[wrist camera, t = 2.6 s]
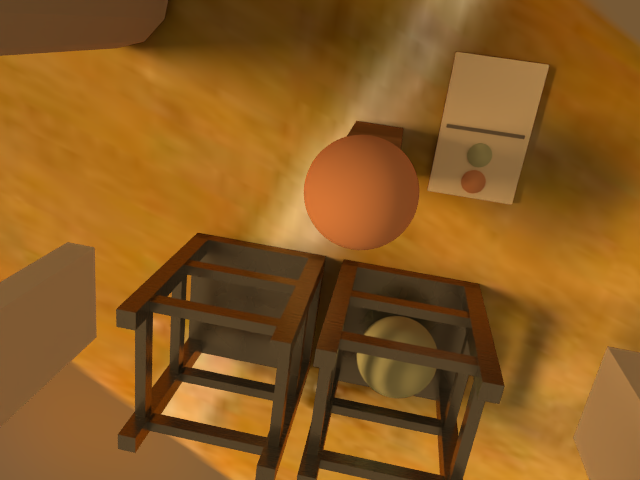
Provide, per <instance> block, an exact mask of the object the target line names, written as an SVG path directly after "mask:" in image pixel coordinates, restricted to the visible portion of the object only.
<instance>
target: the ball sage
mask: <svg viewBox="0 0 640 480" xmlns="http://www.w3.org/2000/svg"><path fill="white" fill-rule="evenodd" d="M363 335H366V336H371V337H376V338H382V339H387V340H392V341H397V342H402V343H407V344H412V345H418V346H423V347H428V348H433V349H437V347H436V344H435V342H434V340H433V338H432V336H431V334H430V333H429V332H428V331H427V329H426V328H425V327H423V326H422V325H421V324H420V323H418V322H417V321H415V320H413V319H410V318H407V317H402V316H390V317H385V318H382V319H380V320H378V321H376V322H374V323H373V324H372V325H371V326H369V327H368V328H367V329H366V331H365V332H364V333H363ZM357 364H358V368H359V371H360V373H361V375H362V377H363V379H364V380H365V382H366V383H367V384H368V385H369V386H370V387H371V388H372V389H373V390H374V391H376V392H378V393H379V394H381V395H384V396H386V397H390V398H406V397H410V396H413V395H415V394H417V393H419V392H421V391H422V390H423V389H424V388H426V387H427V385H428V384H429V383H430V382H431V380H432V379H433V377H434V375H435V372H436V369H437V368H431V367H426V366H421V365H416V364H411V363H406V362H401V361H396V360H391V359H386V358H381V357H376V356H371V355H366V354H361V353H357Z"/></svg>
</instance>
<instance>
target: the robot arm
mask: <svg viewBox="0 0 640 480" xmlns="http://www.w3.org/2000/svg"><path fill="white" fill-rule="evenodd" d="M95 338H96V294H95V248H94V247H89V246H84V245H79V244H74V243H69V242H67V243H66V244H64V245H62V246H61V247H59V248H57V249H55V250H54V251H52V252H50V253H49V254H47V255H45V256H44V257H42V258H40V259H39V260H37V261H35V262H34V263H32V264H30V265H28V266H27V267H25V268H23V269H22V270H20V271H18V272H17V273H15V274H13V275H12V276H10V277H8V278H7V279H5V280H3V281H1V282H0V427H1V426H2V425H3V424H4V423H5V422H6V421H7V420H9V419H10V418H11V417H12V416H13V415H14V414H15V413H16V412H17V411H18V410H19V409H20V408H21V407H22V406H23V405H24V404H26V403H27V402H28V401H29V400H30V399H31V398H32V397H33V396H34V395H35V394H36V393H37V392H38V391H39V390H41V389H42V388H43V387H44V386H45V385H46V384H47V383H48V382H49V381H50V380H51V379H52V378H53V377H54V376H55V375H56V374H57V373H59V372H60V371H61V370H62V369H63V368H64V367H65V366H66V365H67V364H68V363H69V362H70V361H71V360H72V359H74V358H75V357H76V356H77V355H78V354H79V353H80V352H81V351H82V350H83V349H84V348H85V347H86V346H87V345H88V344H89V343H91V342H92V341H93V340H94V339H95ZM573 438H574V441H575V443H576V446H577V449H578V451H579V454H580V456H581V459H582V462H583V464H584V467H585V470H586V472H587V475H588V477H589V480H640V353H638V352H633V351H628V350H623V349H618V348H613V347H607V349H606V352H605V354H604V357H603V360H602V362H601V365H600V368H599V370H598V373H597V376H596V378H595V381H594V384H593V386H592V389H591V392H590V394H589V397H588V400H587V403H586V405H585V408H584V411H583V413H582V416H581V419H580V421H579V424H578V427H577V429H576V432H575V435H574V437H573Z"/></svg>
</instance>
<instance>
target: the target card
mask: <svg viewBox="0 0 640 480" xmlns="http://www.w3.org/2000/svg"><path fill="white" fill-rule="evenodd" d="M548 68H549V65H548V64H540V63H533V62H526V61H519V60H512V59H505V58H497V57H490V56H483V55H476V54H469V53H462V52H456V54H455V59H454V63H453V68H452V73H451V78H450V83H449V88H448V93H447V97H446V102H445V107H444V112H443V117H442V122H441V126H440V131H439V136H438V141H437V146H436V151H435V155H434V160H433V165H432V170H431V175H430V180H429V184H428V191H432V192H438V193H444V194H450V195H456V196H463V197H469V198H475V199H481V200H487V201H493V202H499V203H505V204H511V205H512V202H513V198H514V195H515V191H516V187H517V183H518V180H519V176H520V172H521V169H522V165H523V161H524V157H525V154H526V150H527V146H528V143H529V139H530V135H531V131H532V128H533V124H534V120H535V117H536V113H537V109H538V105H539V102H540V98H541V94H542V91H543V87H544V83H545V79H546V76H547V72H548Z"/></svg>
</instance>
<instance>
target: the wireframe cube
mask: <svg viewBox="0 0 640 480" xmlns="http://www.w3.org/2000/svg"><path fill="white" fill-rule="evenodd" d="M325 257H326V256H322V255H317V254H311V253H305V252H300V251H294V250H289V249H283V248H278V247H272V246H267V245H261V244H256V243H250V242H245V241H239V240H234V239H228V238H223V237H217V236H212V235H206V234H201V233H197V234H196V235H195V236H194V237H193V238H192V239H191V240H190V241H188V242H187V243H186V244H185V245H184V246H183V247H182V248H181V249H180V250H179V251H178V252H177V253H176V254H175V255H174V256H172V257H171V258H170V259H169V260H168V261H167V262H166V263H165V264H164V265H163V266H162V267H161V268H160V269H159V270H158V271H156V272H155V273H154V274H153V275H152V276H151V277H150V278H149V279H148V280H147V281H146V282H145V283H144V284H143V285H141V286H140V287H139V288H138V289H137V290H136V291H135V292H134V293H133V294H132V295H131V296H130V297H129V298H128V299H127V300H125V301H124V302H123V303H122V304H121V305H120V306H119V307H118V308H117V309H116V319H117V327H121V328H126V329H131V330H135V412H134V413H133V415H132V416H131V418H130V419H129V420H128V422H127V423H126V424H125V426H124V427H123V429H122V430H121V431H120V432H119V434H118V449H121V450H126V451H130V452H136V451H137V450H138V448H139V446H140V445H141V443H142V442H143V440H144V439H145V437H146V436H147V434H148V433H149V431H153V432H158V433H162V434H167V435H171V436H176V437H180V438H185V439H190V440H194V441H199V442H203V443H208V444H212V445H217V446H221V447H226V448H230V449H235V450H239V451H244V452H248V453H253V454H257V455H261V456H260V459H259V461H258V464H257V470H256V479H255V480H275V478H276V475H277V471H278V468H279V465H280V462H281V459H282V455H283V452H284V449H285V446H286V443H287V439H288V436H289V433H290V430H291V427H292V423H293V420H294V417H295V414H296V410H297V407H298V404H299V401H300V398H301V394H302V391H303V388H304V385H305V382H306V378H307V375H308V372H309V369H310V363H311V356H312V349H313V342H314V335H315V328H316V321H317V314H318V307H319V299H320V292H321V285H322V278H323V271H324V264H325ZM187 275H192V276H191V299H190V301H186V283H187ZM171 292H172V298H171V297H167V296H168V295H169V294H170V293H171ZM153 312H154V313H159V314H164V315H169V316H171V340H170V364H169V366H168V367H167V368H166V370H165V371H164V372H163V374H162V375H161V377H160V378H159V379H158V381H157V382H156V383H155V385H154V386H153V387H152V334H153ZM185 319H189V320H190V322H189V338H188V340H187V341H186V342H185V344H184V332H185ZM201 353H206V354H211V355H216V356H221V357H226V358H231V359H236V360H240V361H245V362H250V363H255V364H260V365H265V366H270V367H275V368H277V373H276V381H275V385H272V384H267V383H262V382H257V381H252V380H248V379H243V378H238V377H233V376H228V375H223V374H219V373H214V372H209V371H204V370H199V369H194V368H192V366H193V365H194V363H195V362H196V360H197V359H198V357H199V356H200V354H201ZM182 382H187V383H191V384H196V385H201V386H206V387H210V388H215V389H220V390H225V391H229V392H234V393H239V394H244V395H248V396H253V397H258V398H263V399H267V400H272V401H273V407H272V416H271V424H270V431H269V434H268V437H262V436H258V435H253V434H249V433H244V432H239V431H235V430H230V429H226V428H221V427H216V426H212V425H207V424H203V423H198V422H193V421H189V420H184V419H180V418H175V417H170V416H166V415H161V413H162V412H163V410H164V409H165V407H166V406H167V404H168V403H169V401H170V400H171V398H172V397H173V395H174V394H175V392H176V391H177V389H178V387H179V386H180V384H181V383H182Z"/></svg>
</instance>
